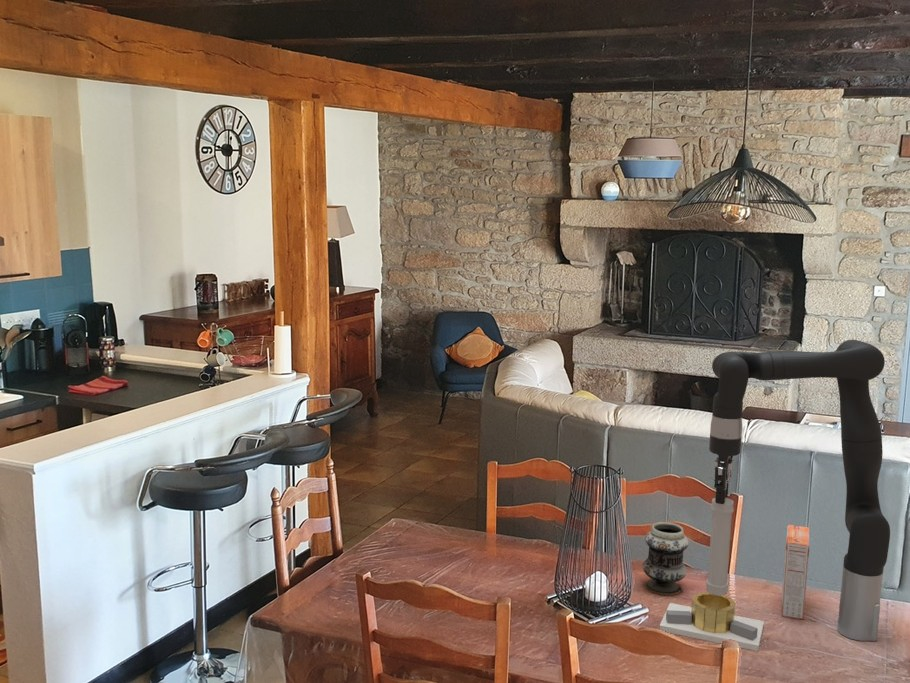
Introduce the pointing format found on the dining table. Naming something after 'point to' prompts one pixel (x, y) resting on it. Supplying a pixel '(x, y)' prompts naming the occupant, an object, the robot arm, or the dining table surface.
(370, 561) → the dining table surface
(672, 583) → the apothecary jar
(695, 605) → the collar
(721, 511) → the pipe
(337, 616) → the dining table surface
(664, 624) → the shaft base
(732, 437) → the robot arm
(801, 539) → the cracker box
